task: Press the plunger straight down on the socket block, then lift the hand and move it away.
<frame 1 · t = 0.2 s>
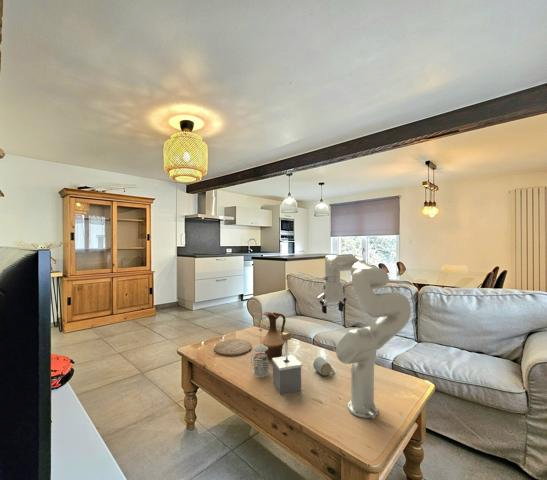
hand: (332, 311, 147), 37 cm above the table, tool pointing down, fingers open, 9 cm apart
plunger: (286, 350, 144), point 18 cm above the table, slide at 7.0 cm
pitcher: (273, 356, 180), on the table
french press: (260, 373, 159), on the table
trivet: (233, 349, 193), on the table
socket block: (286, 386, 144), on the table
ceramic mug: (324, 372, 159), on the table
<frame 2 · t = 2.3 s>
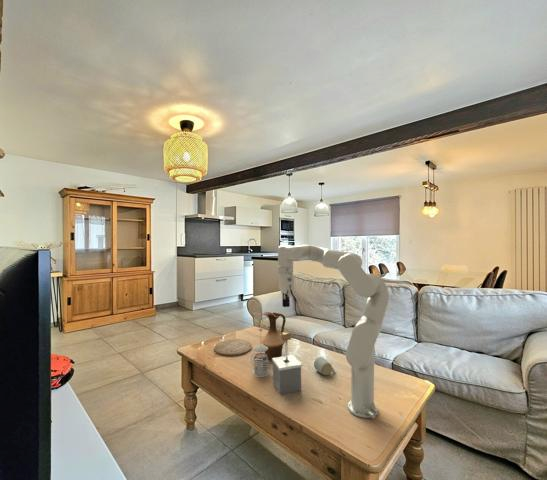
hand: (286, 306, 143), 41 cm above the table, tool pointing down, fingers closed
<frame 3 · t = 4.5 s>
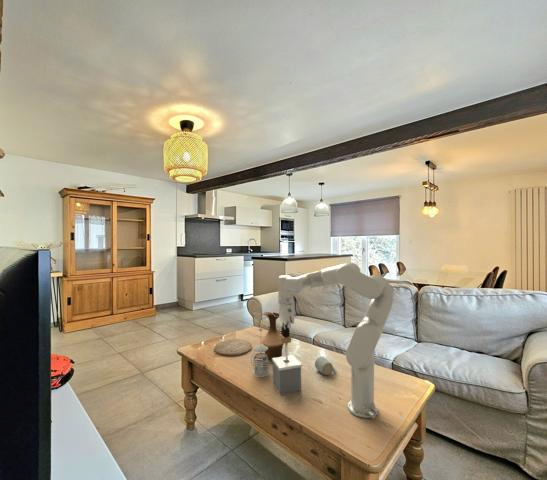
hand: (285, 336, 144), 26 cm above the table, tool pointing down, fingers closed
plunger: (286, 353, 144), point 17 cm above the table, slide at 5.5 cm, touching gripper
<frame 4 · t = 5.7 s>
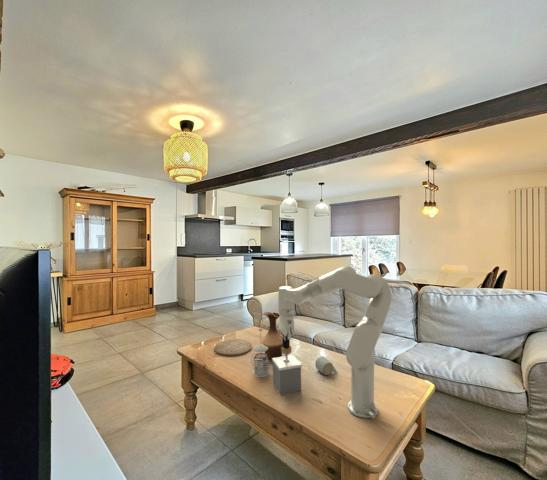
hand: (286, 347, 144), 20 cm above the table, tool pointing down, fingers closed
plunger: (286, 364, 144), point 11 cm above the table, slide at -0.1 cm, touching gripper
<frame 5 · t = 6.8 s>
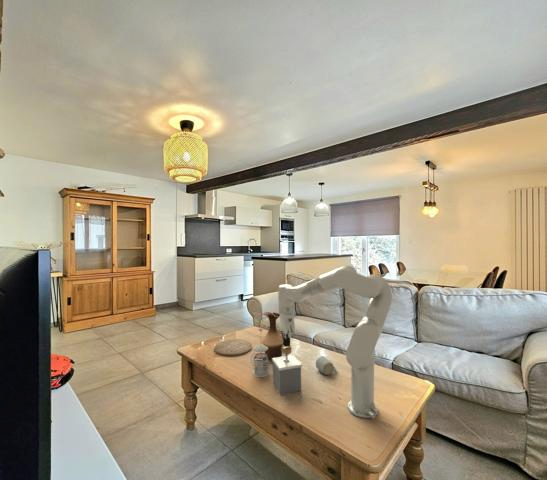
hand: (286, 345, 144), 21 cm above the table, tool pointing down, fingers closed
plunger: (286, 364, 144), point 11 cm above the table, slide at -0.1 cm
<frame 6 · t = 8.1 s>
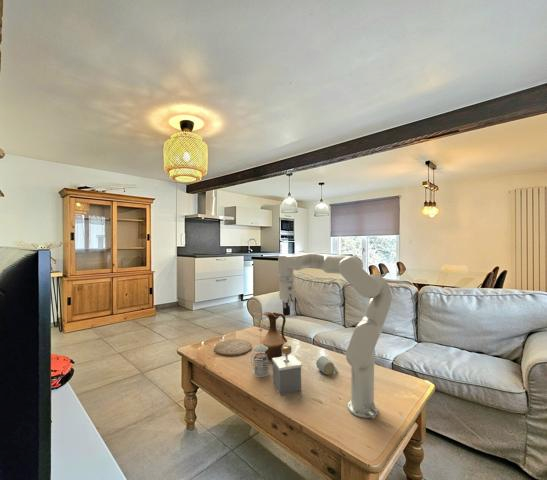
hand: (286, 315, 143), 37 cm above the table, tool pointing down, fingers closed
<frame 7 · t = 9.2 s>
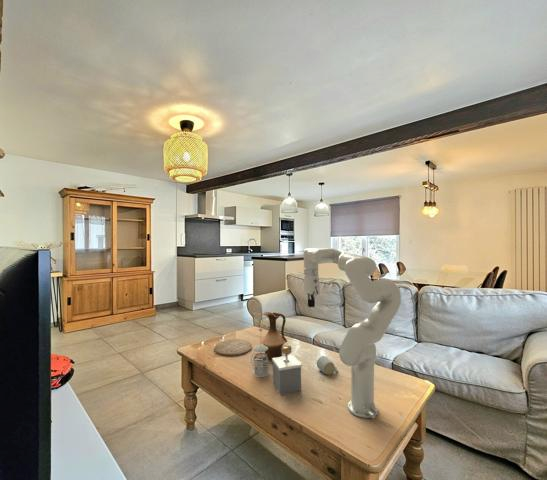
hand: (311, 306, 150), 39 cm above the table, tool pointing down, fingers closed
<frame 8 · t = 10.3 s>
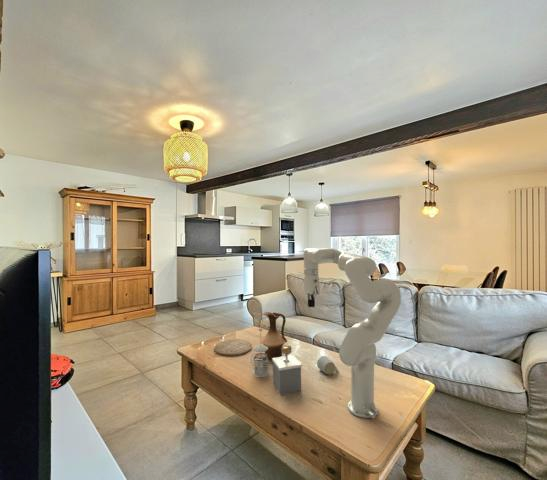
hand: (311, 306, 150), 39 cm above the table, tool pointing down, fingers closed
at the end: plunger slide at -0.1 cm; the gripper is holding nothing; french press moved 0.2 cm from its start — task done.
